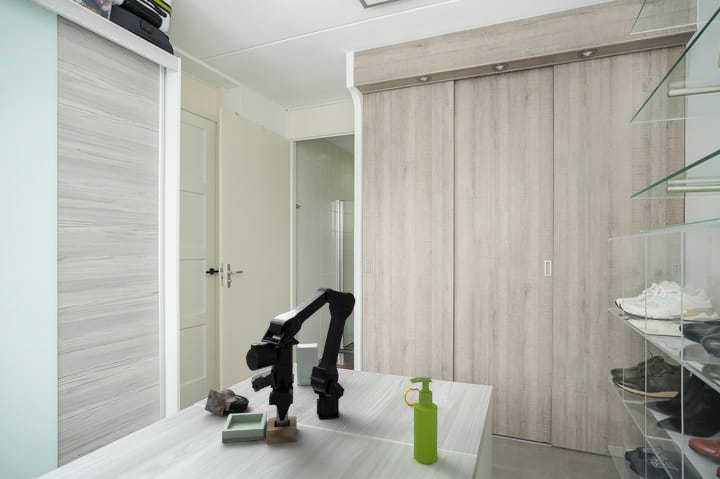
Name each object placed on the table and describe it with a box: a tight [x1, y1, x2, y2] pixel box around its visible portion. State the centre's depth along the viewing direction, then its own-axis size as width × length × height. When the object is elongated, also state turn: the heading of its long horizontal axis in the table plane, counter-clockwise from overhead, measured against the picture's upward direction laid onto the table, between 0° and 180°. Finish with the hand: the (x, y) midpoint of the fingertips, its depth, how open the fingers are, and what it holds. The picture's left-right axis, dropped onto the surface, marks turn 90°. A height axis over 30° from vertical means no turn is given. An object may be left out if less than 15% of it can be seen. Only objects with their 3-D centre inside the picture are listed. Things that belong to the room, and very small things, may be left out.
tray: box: [221, 411, 268, 443], centre depth 111 cm, size 11×11×3 cm
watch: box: [403, 385, 420, 406], centre depth 132 cm, size 6×3×6 cm, turn 98°
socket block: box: [265, 415, 298, 445], centre depth 109 cm, size 8×8×4 cm
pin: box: [274, 405, 289, 427], centre depth 109 cm, size 4×4×10 cm
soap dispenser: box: [409, 376, 438, 465], centre depth 98 cm, size 6×7×20 cm
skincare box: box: [295, 342, 319, 386], centre depth 152 cm, size 8×6×15 cm
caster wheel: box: [204, 388, 250, 417], centre depth 126 cm, size 7×11×10 cm
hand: (282, 417), depth 109 cm, fingers closed on pin, 4 cm apart
